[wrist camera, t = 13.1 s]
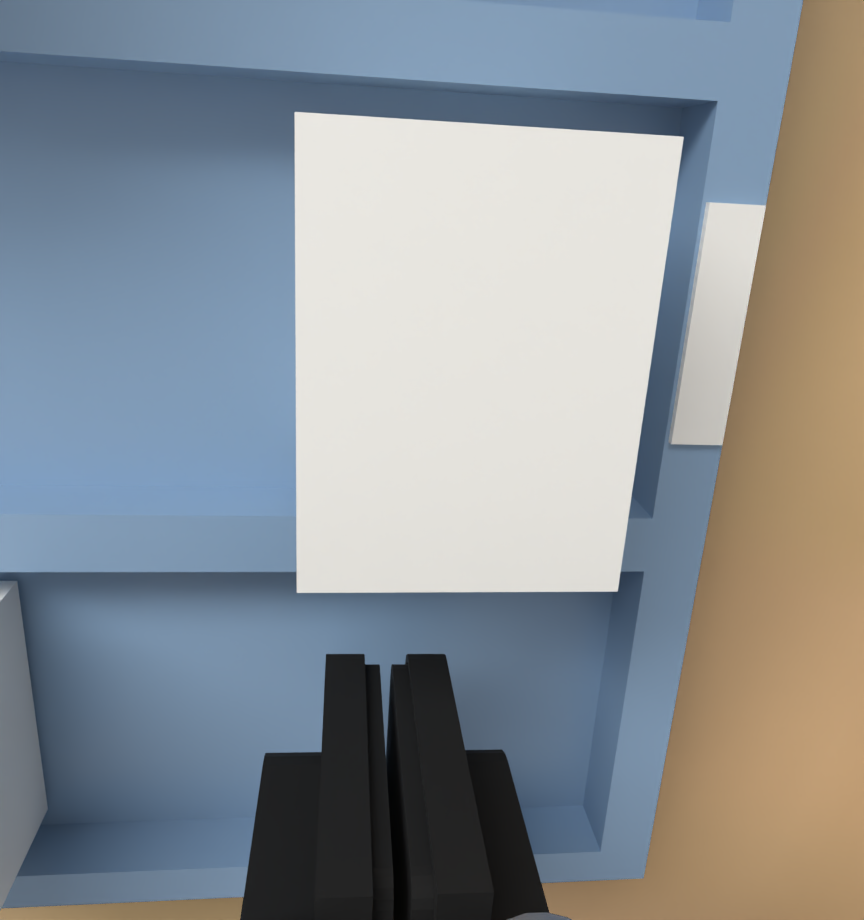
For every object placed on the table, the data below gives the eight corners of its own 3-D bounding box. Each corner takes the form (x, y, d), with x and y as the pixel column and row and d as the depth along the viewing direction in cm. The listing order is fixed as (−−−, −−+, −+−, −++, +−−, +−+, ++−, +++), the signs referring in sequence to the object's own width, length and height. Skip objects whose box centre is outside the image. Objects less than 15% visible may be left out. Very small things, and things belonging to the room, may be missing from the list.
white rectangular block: (556, 151, 10) (682, 137, 6) (526, 453, 11) (617, 591, 8) (313, 136, 10) (293, 111, 6) (312, 450, 11) (295, 592, 7)
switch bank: (790, -467, 9) (945, -689, 7) (602, 770, 15) (651, 883, 13) (-790, -713, 8) (-1321, -1131, 5) (-309, 799, 14) (-452, 935, 11)
